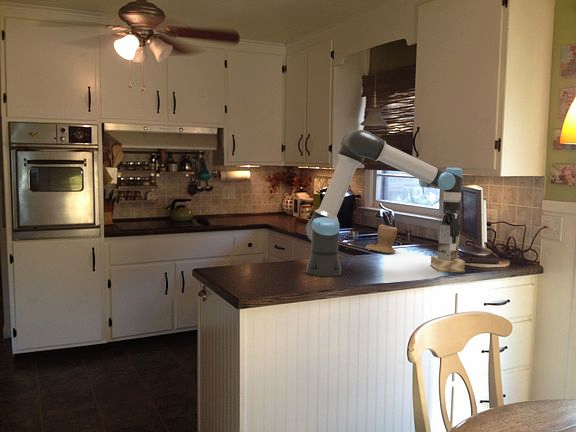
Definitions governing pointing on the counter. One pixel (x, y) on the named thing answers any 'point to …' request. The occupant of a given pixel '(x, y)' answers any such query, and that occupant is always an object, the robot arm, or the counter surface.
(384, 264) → the counter surface
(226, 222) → the counter surface
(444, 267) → the maple riser
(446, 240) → the coffee box
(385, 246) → the tan boot
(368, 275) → the counter surface
